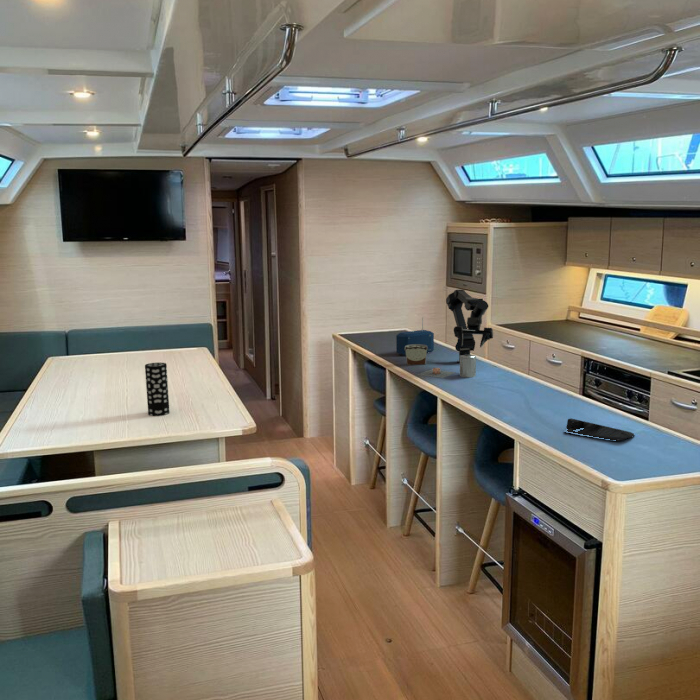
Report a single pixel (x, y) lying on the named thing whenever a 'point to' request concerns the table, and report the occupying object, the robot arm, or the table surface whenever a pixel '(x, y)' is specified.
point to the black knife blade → (597, 430)
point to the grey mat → (441, 375)
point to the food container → (416, 354)
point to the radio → (414, 339)
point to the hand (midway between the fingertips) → (470, 346)
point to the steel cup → (467, 365)
